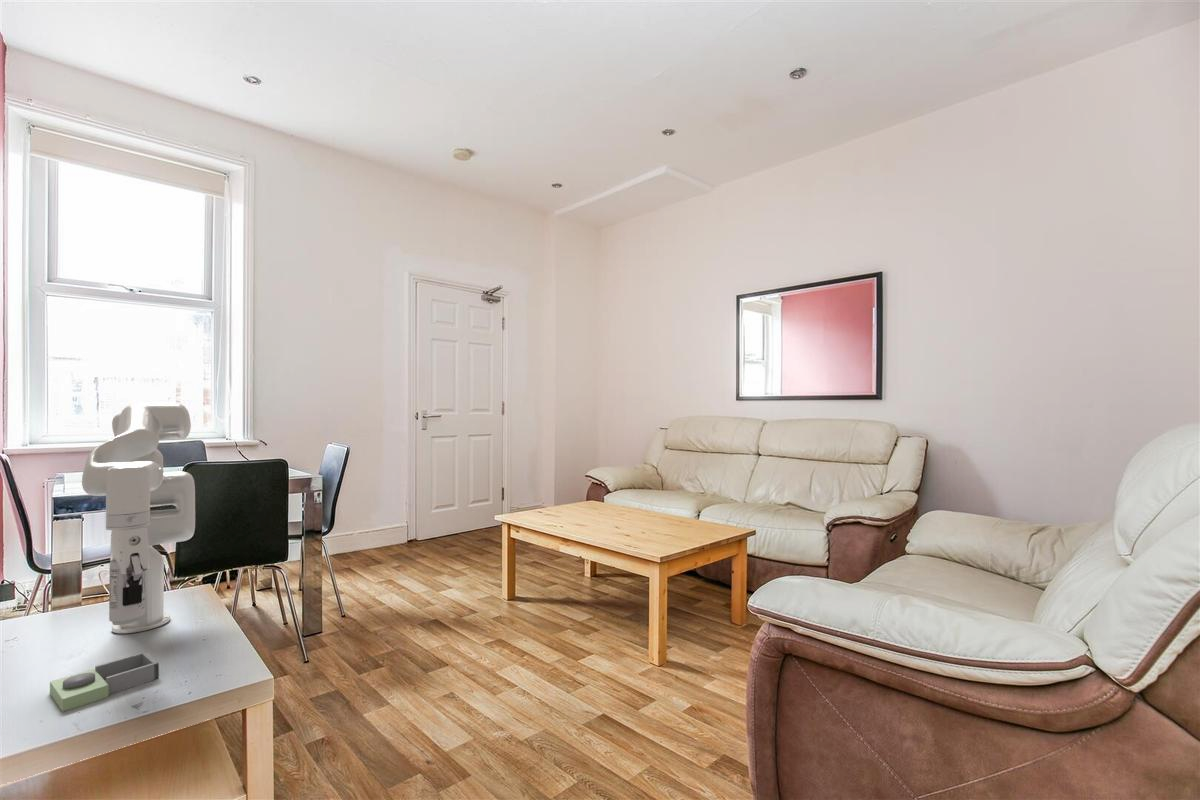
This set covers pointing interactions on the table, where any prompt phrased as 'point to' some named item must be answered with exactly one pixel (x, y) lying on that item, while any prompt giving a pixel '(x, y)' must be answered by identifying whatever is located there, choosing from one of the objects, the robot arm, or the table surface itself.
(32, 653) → the table surface
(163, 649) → the table surface
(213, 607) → the table surface
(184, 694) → the table surface
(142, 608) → the energy drink can
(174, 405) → the robot arm
